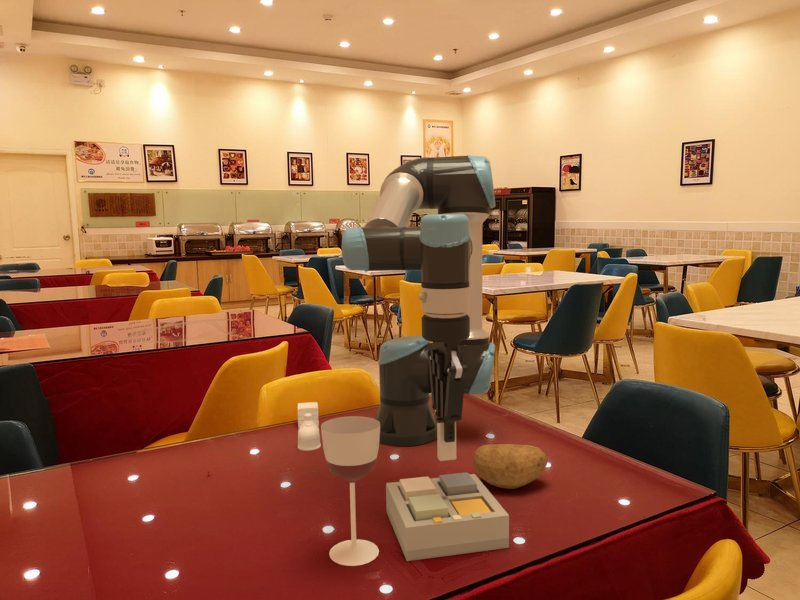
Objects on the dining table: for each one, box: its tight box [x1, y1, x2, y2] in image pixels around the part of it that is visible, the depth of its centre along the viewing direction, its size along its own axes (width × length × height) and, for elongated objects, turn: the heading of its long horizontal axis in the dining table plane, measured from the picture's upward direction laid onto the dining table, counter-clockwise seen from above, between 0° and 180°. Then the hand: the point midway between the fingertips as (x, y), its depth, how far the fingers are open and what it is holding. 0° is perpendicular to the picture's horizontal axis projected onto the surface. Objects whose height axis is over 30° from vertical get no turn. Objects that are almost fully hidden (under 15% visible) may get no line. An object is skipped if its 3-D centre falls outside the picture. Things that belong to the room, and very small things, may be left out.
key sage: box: [409, 494, 448, 521], centre depth 93 cm, size 5×5×3 cm
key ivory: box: [399, 475, 436, 501], centre depth 100 cm, size 5×5×3 cm
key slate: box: [438, 471, 477, 496], centre depth 101 cm, size 5×5×3 cm
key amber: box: [451, 498, 491, 516], centre depth 95 cm, size 5×5×3 cm
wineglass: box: [320, 415, 380, 567], centre depth 90 cm, size 8×9×20 cm
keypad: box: [385, 473, 510, 562], centre depth 98 cm, size 16×16×6 cm
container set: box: [296, 401, 322, 451], centre depth 143 cm, size 20×5×6 cm, turn 9°
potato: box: [473, 443, 549, 490], centre depth 114 cm, size 10×14×8 cm
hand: (446, 458), depth 97 cm, fingers closed
